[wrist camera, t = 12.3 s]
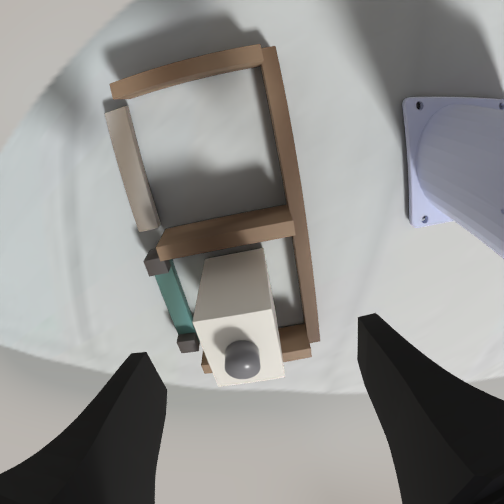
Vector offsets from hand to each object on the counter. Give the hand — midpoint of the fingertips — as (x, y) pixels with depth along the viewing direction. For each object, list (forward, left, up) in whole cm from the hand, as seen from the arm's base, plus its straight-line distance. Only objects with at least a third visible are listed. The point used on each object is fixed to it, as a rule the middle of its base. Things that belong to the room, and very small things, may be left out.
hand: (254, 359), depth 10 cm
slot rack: (+1, -1, -9) cm, 10 cm away
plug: (+1, +3, -10) cm, 10 cm away
